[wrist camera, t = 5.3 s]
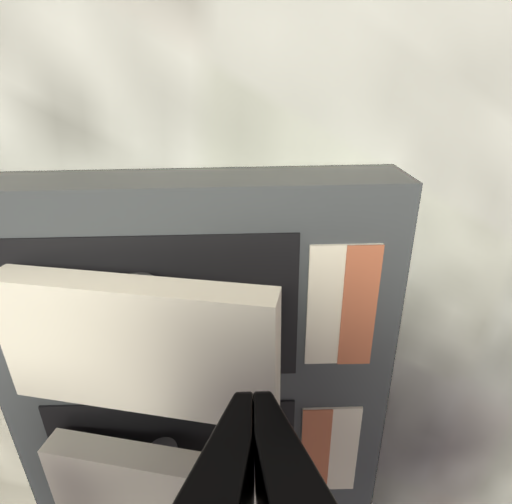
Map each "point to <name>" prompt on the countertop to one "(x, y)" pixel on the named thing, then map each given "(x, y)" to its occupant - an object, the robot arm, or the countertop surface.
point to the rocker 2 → (114, 468)
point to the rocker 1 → (139, 340)
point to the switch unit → (238, 271)
